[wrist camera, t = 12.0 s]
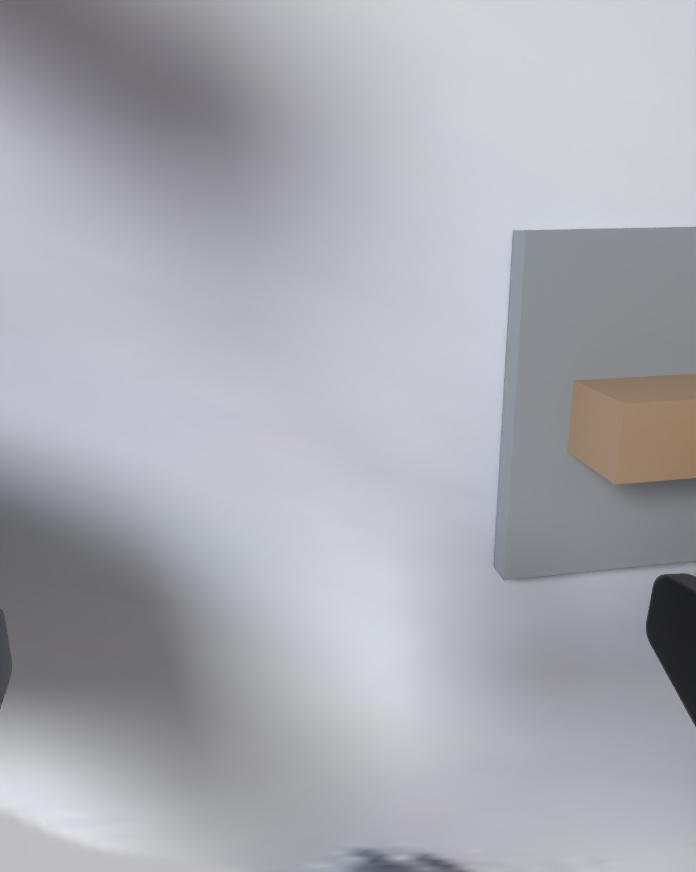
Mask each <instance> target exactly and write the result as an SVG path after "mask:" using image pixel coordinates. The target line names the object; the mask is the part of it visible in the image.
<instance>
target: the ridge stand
mask: <svg viewBox="0 0 696 872" xmlns="http://www.w3.org/2000/svg"><path fill="white" fill-rule="evenodd" d="M689 561H696V227H671V228H622V229H572V230H523V231H513V241H512V258H511V275H510V293H509V310H508V327H507V344H506V362H505V379H504V396H503V413H502V431H501V448H500V465H499V482H498V500H497V517H496V534H495V552H494V568H495V569H496V570H497V572H498V573H499V574H500V576H501V577H502V578H503V580H511V579H521V578H531V577H541V576H551V575H560V574H570V573H580V572H590V571H600V570H610V569H620V568H630V567H640V566H649V565H659V564H669V563H679V562H689Z"/></svg>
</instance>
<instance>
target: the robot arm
mask: <svg viewBox="0 0 696 872" xmlns="http://www.w3.org/2000/svg"><path fill="white" fill-rule="evenodd" d="M646 632H647V637H648V640H649V642H650V644H651V646H652V648H653V650H654V652H655V653H656V655H657V657H658V659H659V661H660V663H661V664H662V666H663V668H664V670H665V672H666V674H667V675H668V677H669V679H670V681H671V683H672V685H673V686H674V688H675V690H676V692H677V694H678V696H679V697H680V699H681V701H682V703H683V705H684V707H685V708H686V710H687V712H688V714H689V716H690V717H691V719H692V721H693V723H694V724H695V726H696V577H695V576H692V575H689V574H664V575H660V576H659V577H658V578H656V580H655V582H654V585H653V589H652V594H651V600H650V605H649V610H648V616H647V621H646ZM11 669H12V660H11V653H10V647H9V641H8V634H7V628H6V622H5V617H4V614H3V611H2V609H1V608H0V708H1V705H2V702H3V698H4V695H5V692H6V689H7V686H8V683H9V680H10V676H11Z"/></svg>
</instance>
